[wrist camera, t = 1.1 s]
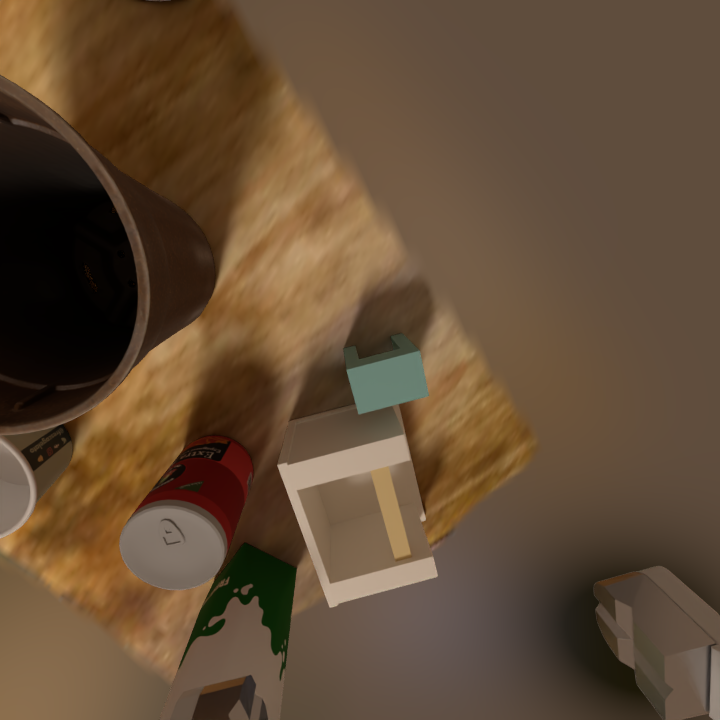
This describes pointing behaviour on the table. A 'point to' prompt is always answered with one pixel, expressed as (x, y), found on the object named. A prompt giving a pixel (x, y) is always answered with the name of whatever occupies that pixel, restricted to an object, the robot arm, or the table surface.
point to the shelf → (356, 501)
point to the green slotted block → (386, 376)
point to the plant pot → (66, 274)
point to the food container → (29, 472)
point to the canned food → (189, 516)
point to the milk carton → (241, 630)
